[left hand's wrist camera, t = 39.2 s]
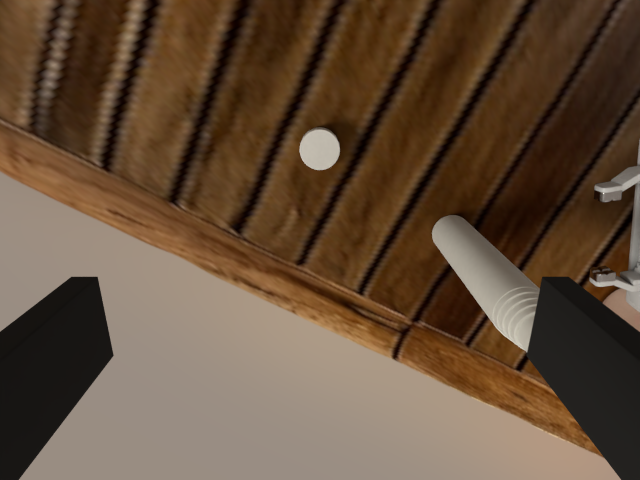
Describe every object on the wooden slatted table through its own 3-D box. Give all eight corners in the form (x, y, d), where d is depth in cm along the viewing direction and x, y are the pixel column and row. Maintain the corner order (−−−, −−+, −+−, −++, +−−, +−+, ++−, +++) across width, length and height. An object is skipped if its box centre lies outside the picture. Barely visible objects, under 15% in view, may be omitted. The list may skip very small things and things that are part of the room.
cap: (313, 118, 47) (313, 120, 45) (346, 140, 48) (348, 143, 45) (293, 153, 48) (291, 156, 46) (326, 173, 49) (326, 177, 47)
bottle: (471, 214, 51) (602, 326, 27) (467, 249, 52) (589, 384, 29) (433, 215, 51) (531, 328, 27) (430, 250, 52) (521, 386, 29)
